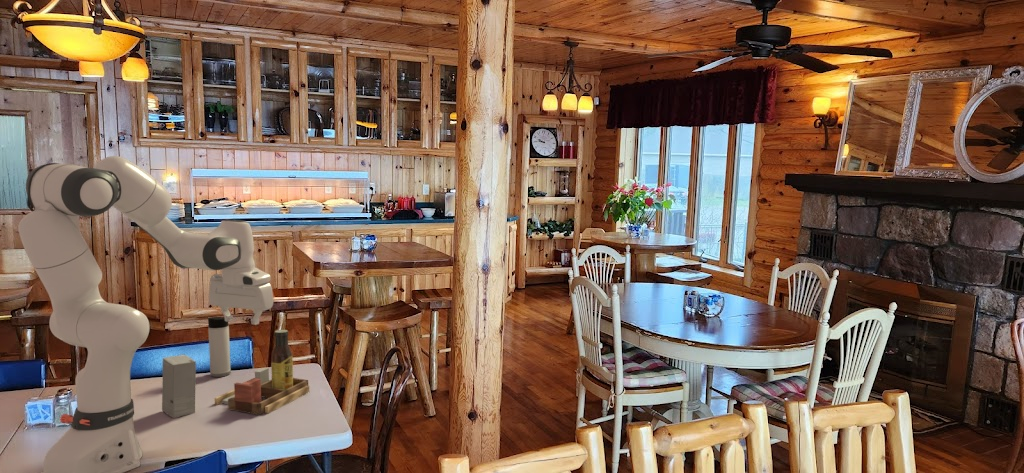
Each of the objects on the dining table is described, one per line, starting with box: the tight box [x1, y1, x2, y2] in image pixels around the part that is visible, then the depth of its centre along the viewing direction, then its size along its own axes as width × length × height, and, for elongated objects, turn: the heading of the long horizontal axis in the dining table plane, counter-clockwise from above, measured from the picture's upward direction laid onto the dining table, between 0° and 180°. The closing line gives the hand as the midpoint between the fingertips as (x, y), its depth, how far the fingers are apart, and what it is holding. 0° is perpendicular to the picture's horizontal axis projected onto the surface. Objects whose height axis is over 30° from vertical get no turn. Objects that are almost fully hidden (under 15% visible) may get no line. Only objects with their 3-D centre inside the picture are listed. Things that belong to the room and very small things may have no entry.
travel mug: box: [207, 316, 232, 378], centre depth 223 cm, size 6×7×20 cm
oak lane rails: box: [214, 385, 310, 414], centre depth 203 cm, size 19×19×2 cm
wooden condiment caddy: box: [227, 377, 309, 415], centre depth 201 cm, size 22×11×8 cm, turn 160°
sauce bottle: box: [270, 329, 294, 390], centre depth 206 cm, size 6×6×20 cm
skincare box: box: [161, 354, 197, 419], centre depth 191 cm, size 8×7×16 cm
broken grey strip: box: [221, 367, 270, 405], centre depth 206 cm, size 18×4×6 cm, turn 160°
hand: (242, 322), depth 191 cm, fingers open, 8 cm apart
